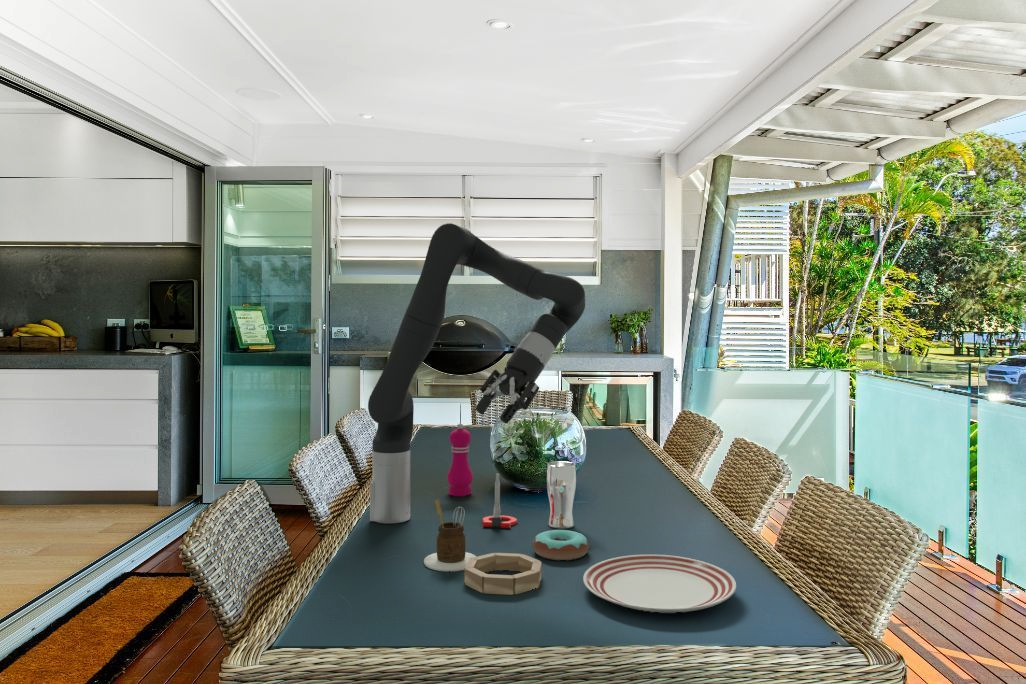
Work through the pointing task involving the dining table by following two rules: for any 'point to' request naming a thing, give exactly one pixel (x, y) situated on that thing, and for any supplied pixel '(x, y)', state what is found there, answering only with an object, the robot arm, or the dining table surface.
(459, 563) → the coaster
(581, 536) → the donut
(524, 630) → the dining table surface
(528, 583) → the oak ring
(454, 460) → the pepper mill
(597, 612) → the dining table surface
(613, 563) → the dinner plate
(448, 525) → the utensil holder
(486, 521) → the tow hook
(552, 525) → the beer glass
